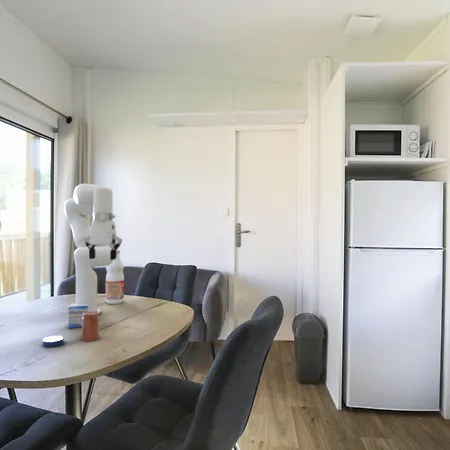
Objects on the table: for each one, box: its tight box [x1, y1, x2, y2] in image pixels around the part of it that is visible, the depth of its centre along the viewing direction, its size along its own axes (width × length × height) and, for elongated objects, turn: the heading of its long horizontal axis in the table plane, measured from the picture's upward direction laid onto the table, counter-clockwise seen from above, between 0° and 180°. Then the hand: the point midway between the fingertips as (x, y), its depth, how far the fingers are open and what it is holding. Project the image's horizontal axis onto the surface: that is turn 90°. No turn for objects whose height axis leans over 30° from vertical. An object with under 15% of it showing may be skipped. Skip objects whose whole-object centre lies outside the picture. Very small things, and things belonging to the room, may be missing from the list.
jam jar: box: [81, 312, 100, 342], centre depth 138 cm, size 6×6×10 cm
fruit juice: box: [105, 249, 125, 305], centre depth 200 cm, size 9×9×28 cm
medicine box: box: [66, 304, 88, 329], centre depth 155 cm, size 8×4×9 cm, turn 117°
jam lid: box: [42, 335, 64, 348], centre depth 132 cm, size 7×7×2 cm
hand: (102, 259), depth 153 cm, fingers open, 9 cm apart
